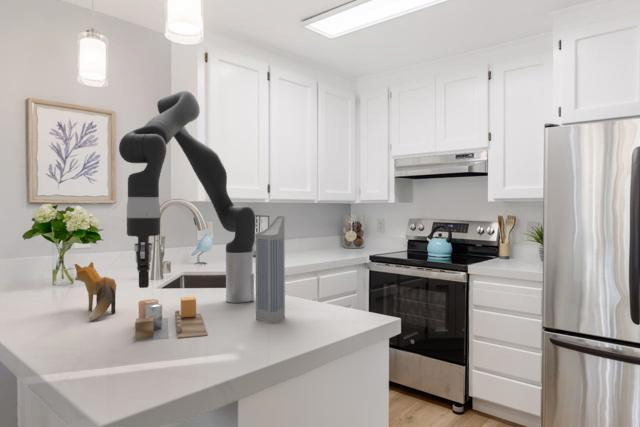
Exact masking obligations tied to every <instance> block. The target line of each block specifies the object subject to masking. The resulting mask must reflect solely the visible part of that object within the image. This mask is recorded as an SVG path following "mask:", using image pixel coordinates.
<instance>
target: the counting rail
mask: <svg viewBox="0 0 640 427" xmlns="http://www.w3.org/2000/svg"><path fill="white" fill-rule="evenodd" d="M174 318H175V328H176V335H177V339H189V338H200V337H208V336H209V335H208V331H207V328H206V326H205V323H204V320H203V317H202V314H201V313H199V312H198V313H196V316H194V317H182V318H181V310H175V311H174Z"/></svg>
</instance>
